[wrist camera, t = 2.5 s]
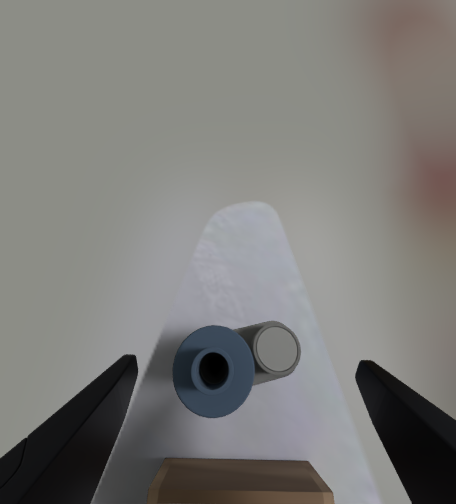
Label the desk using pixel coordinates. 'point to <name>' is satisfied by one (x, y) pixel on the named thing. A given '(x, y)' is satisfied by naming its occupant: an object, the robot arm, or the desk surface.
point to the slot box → (237, 482)
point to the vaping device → (231, 365)
